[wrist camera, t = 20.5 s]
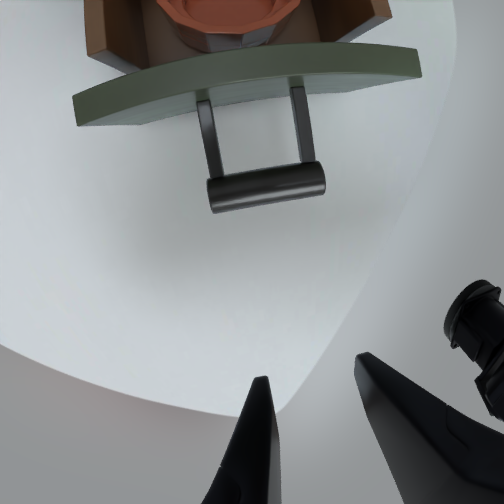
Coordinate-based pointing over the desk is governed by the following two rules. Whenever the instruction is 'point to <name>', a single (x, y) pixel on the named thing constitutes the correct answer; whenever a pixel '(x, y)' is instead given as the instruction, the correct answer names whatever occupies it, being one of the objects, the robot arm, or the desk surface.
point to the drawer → (237, 81)
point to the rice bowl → (227, 21)
